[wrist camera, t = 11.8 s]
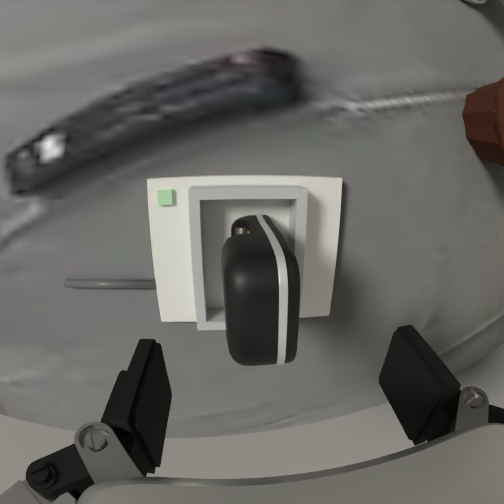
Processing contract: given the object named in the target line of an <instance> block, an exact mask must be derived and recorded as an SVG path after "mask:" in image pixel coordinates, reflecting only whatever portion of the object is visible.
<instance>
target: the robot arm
mask: <svg viewBox="0 0 504 504" xmlns="http://www.w3.org/2000/svg"><path fill="white" fill-rule="evenodd" d="M464 1H466V2H468V3H471V4H474V5H480V4H483V3H485V2H486V1H487V0H464ZM503 1H504V0H503ZM379 384H380V386H381V388H382V390H383V392H384V393H385V395H386V397H387V399H388V401H389V403H390V404H391V406H392V408H393V410H394V412H395V414H396V416H397V418H398V420H399V421H400V423H401V425H402V427H403V429H404V431H405V433H406V435H407V437H408V439H410V440H412V441H413V443H414V445H417V446H415V447H412V448H409V449H406V450H403V451H400V452H397V453H393V454H390V455H387V456H383V457H380V458H376V459H372V460H369V461H364V462H360V463H356V464H352V465H347V466H343V467H338V468H333V469H328V470H322V471H316V472H309V473H302V474H294V475H286V476H276V477H264V478H247V479H188V478H167V477H146V475H147V473H153V474H154V473H155V467H160V464H161V457H162V452H163V446H164V439H165V433H166V427H167V422H168V416H169V410H170V405H171V399H172V392H171V388H170V384H169V379H168V375H167V371H166V366H165V362H164V357H163V353H162V348H161V344H160V343H156V341H155V339H140V340H139V342H138V345H137V347H136V350H135V352H134V355H133V357H132V360H131V362H130V365H129V367H128V370H127V371H124V370H122V371H120V373H119V375H118V377H117V380H116V382H115V385H114V387H113V390H112V392H111V395H110V398H109V400H108V403H107V406H106V408H105V411H104V414H103V416H102V419H101V422H90V423H86V424H84V425H83V426H81V427H80V428H79V429H78V430H77V432H76V434H75V438H74V441H75V443H74V444H72V445H70V446H68V447H66V448H63V449H61V450H59V451H57V452H54V453H52V454H50V455H48V456H45V457H43V458H40V459H38V460H36V461H34V462H32V463H31V464H30V465H29V466H28V468H27V471H26V479H25V480H24V481H23V482H22V481H21V480H19V481H17V482H16V483H15V484H14V485H12V487H10V488H9V489H8V490H6V491H5V492H4V493H3V494H2V495H0V504H504V409H503V408H499V407H496V406H493V405H489V401H488V397H487V395H486V394H485V392H484V391H482V390H481V389H479V388H477V387H466V388H464V389H463V390H462V391H461V390H460V389H459V388H460V386H461V384H460V383H459V382H458V381H457V379H456V378H455V377H454V375H453V374H452V373H451V372H450V370H449V369H448V368H447V367H446V365H445V364H444V363H443V362H442V361H441V359H440V358H439V357H438V356H437V354H436V353H435V352H434V351H433V350H432V348H431V347H430V346H429V345H428V344H427V342H426V341H425V340H424V339H423V338H422V337H421V335H420V334H419V333H418V332H417V331H416V330H415V328H414V327H413V326H412V325H407V326H400V327H398V328H397V330H396V331H394V333H393V336H392V340H391V343H390V346H389V349H388V352H387V355H386V358H385V361H384V364H383V367H382V370H381V373H380V375H379ZM426 440H427V442H426V443H423V442H425V441H426ZM420 443H423V444H420ZM418 444H420V445H418Z"/></svg>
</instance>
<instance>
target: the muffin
mask: <svg viewBox="0 0 504 504" xmlns="http://www.w3.org/2000/svg"><path fill="white" fill-rule="evenodd" d="M462 116H463V120H464V124H465V129H466V138H467V140H468V141H469V142H470V144H471V145H472V147H473V149H474V151H475V153H476V155H477V156H478V157H481V158H484V159H487V160H489V161H491V162H494V163H497V164H499V165H502V166H504V77H503V78H502V79H501V80H500V81H498V82H495V83H492V84H489V85H487V86H484V87H481V88H478V89H477V90H475V91H474V92H473V93H471V94H468V95H466V102H465V107H464V110H463V113H462Z"/></svg>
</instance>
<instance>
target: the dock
mask: <svg viewBox="0 0 504 504" xmlns="http://www.w3.org/2000/svg"><path fill="white" fill-rule="evenodd" d="M147 190H148V207H149V221H150V233H151V244H152V254H153V263H154V272H155V280H69V279H67V280H65V281H64V286H65V287H69V288H124V289H157V295H158V302H159V309H160V315H161V321H164V322H197V330H226V324H225V311H224V297H223V283H222V269H221V252H222V248H223V246H224V244H225V242H226V240H227V239H228V238H229V237H231V227H232V224H233V222H234V221H235V220H236V219H238V218H240V217H244V216H247V215H256V214H262V215H268V216H269V217H270V219H271V221H272V222H273V224H274V225H275V226H276V227H277V229H278V230H279V231H280V232H281V234H282V235H283V236H284V238H285V239H286V241H287V242H288V244H289V246H290V247H291V249H292V250H293V252H294V254H295V256H296V258H297V262H298V266H299V272H300V309H299V318H304V317H318V316H329V313H330V306H331V299H332V291H333V283H334V275H335V266H336V256H337V246H338V235H339V223H340V210H341V194H342V178H339V177H325V176H300V175H203V176H178V177H160V178H149V179H147Z"/></svg>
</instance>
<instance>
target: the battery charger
mask: <svg viewBox="0 0 504 504" xmlns="http://www.w3.org/2000/svg"><path fill="white" fill-rule="evenodd" d="M221 269H222V283H223V297H224V311H225V324H226V335H227V342H228V348H229V353H230V355H231V356H232V358H233V360H235V361H236V362H237V363H239V364H241V365H246V366H255V365H268V364H275V365H276V366H277V365H284V363H288V362H291V361H293V360H294V359H295V356H296V351H297V340H298V326H299V309H300V272H299V266H298V262H297V258H296V256H295V254H294V252H293V250H292V249H291V247H290V246H289V244H288V242H287V241H286V239H285V238H284V236H283V235H282V234H281V232H280V231H279V230H278V229H277V227H276V226H275V225H274V224H273V222H272V221H271V219H270V217H269V216H268V215H262V214H256V215H247V216H244V217H240V218H238V219H236V220H235V221H234V222H233V224H232V227H231V237H229V238H228V239H227V240H226V242H225V244H224V246H223V248H222V252H221Z"/></svg>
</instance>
